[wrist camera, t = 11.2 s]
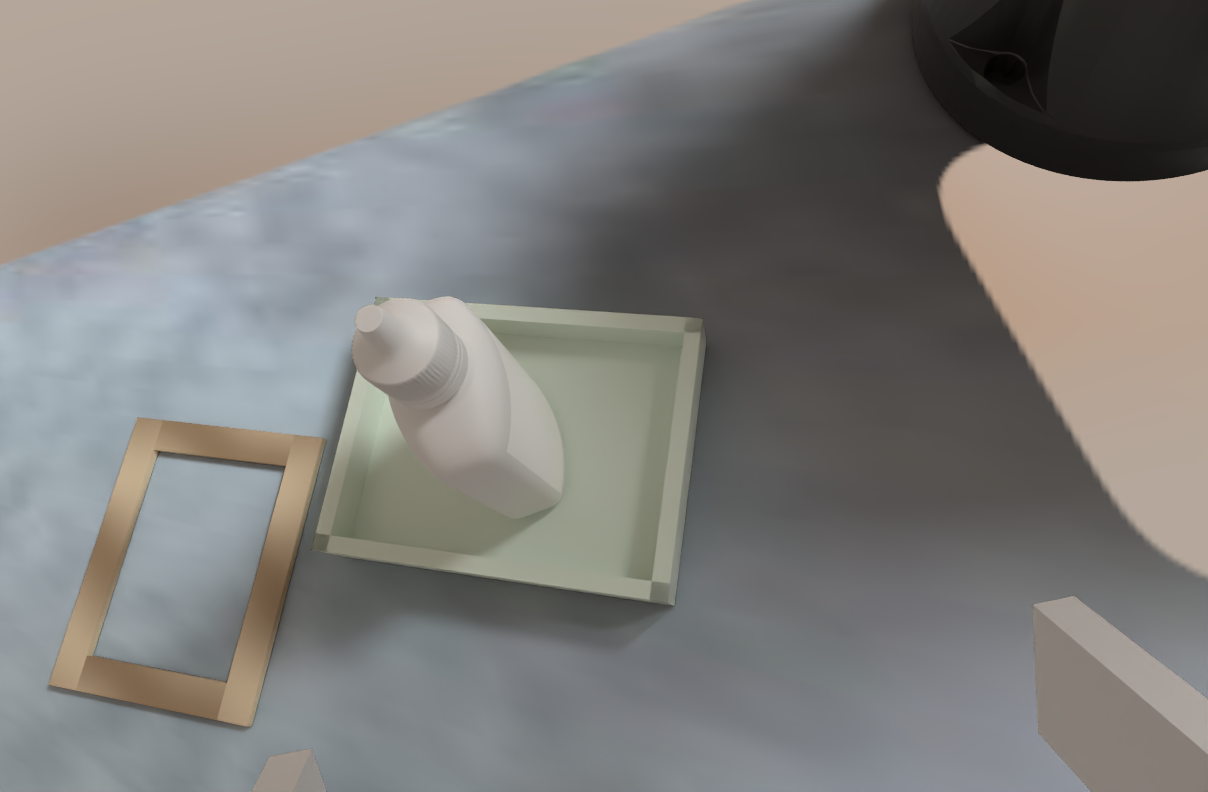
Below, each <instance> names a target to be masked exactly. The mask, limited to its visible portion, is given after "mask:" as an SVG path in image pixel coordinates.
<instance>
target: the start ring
mask: <svg viewBox="0 0 1208 792" xmlns="http://www.w3.org/2000/svg"><path fill="white" fill-rule="evenodd" d="M325 443H326V440H325V439H323V438H317V437H308V436H299V435H290V434H281V433H272V432H263V431H254V430H246V429H237V428H228V427H219V426H210V425H201V424H192V423H183V422H174V421H165V420H156V419H147V418H137V421H136V424H135V427H134V430H133V433H132V436H131V439H130V442H129V445H128V448H127V451H126V454H125V457H124V460H123V463H122V466H121V469H120V472H119V475H118V478H117V481H116V484H115V487H114V490H113V493H112V496H111V499H110V502H109V505H108V508H107V511H106V514H105V517H104V520H103V523H102V526H101V529H100V532H99V535H98V538H97V541H96V544H95V547H94V550H93V553H92V556H91V559H90V562H89V565H88V568H87V571H86V574H85V577H84V580H83V583H82V586H81V589H80V592H79V595H78V598H77V601H76V604H75V607H74V610H73V613H72V616H71V619H70V622H69V625H68V628H67V631H66V634H65V637H64V640H63V643H62V646H61V649H60V652H59V655H58V658H57V661H56V664H55V667H54V670H53V673H52V676H51V679H50V682H49V685H52V686H57V687H61V688H66V689H71V690H76V691H80V692H85V693H90V694H95V695H99V696H104V697H109V698H114V699H118V700H123V701H128V702H133V703H137V704H142V705H147V706H152V707H156V708H161V709H166V710H171V711H175V712H180V713H185V714H190V715H194V716H199V717H204V718H209V719H213V720H218V721H223V722H228V723H232V724H237V725H242V726H247V727H248V726H252V725H253V721H254V717H255V713H256V709H257V705H258V701H259V698H260V694H261V690H262V686H263V682H264V678H265V674H266V671H267V667H268V663H269V659H270V655H271V651H272V648H273V644H274V640H275V636H276V632H277V628H278V624H279V621H280V617H281V613H282V609H283V605H284V601H285V597H286V594H287V590H288V586H289V582H290V578H291V574H292V570H293V567H294V563H295V559H296V555H297V551H298V547H299V544H300V540H301V536H302V532H303V528H304V524H305V520H306V517H307V513H308V509H309V505H310V501H311V497H312V493H313V490H314V486H315V482H316V478H317V474H318V470H319V466H320V463H321V459H322V455H323V451H324V447H325ZM159 451H161V452H169V453H177V454H185V455H193V456H202V457H210V458H218V459H226V460H234V461H242V462H251V463H259V464H267V465H275V466H283V467H286V468H285V471H284V475H283V479H282V482H281V486H280V490H279V493H278V497H277V501H276V504H275V508H274V512H273V515H272V519H271V523H270V526H269V530H268V534H267V537H266V541H265V545H264V548H263V552H262V556H261V560H260V563H259V567H258V571H257V574H256V578H255V582H254V585H253V589H252V593H251V596H250V600H249V604H248V607H247V611H246V615H245V618H244V622H243V626H242V629H241V633H240V637H239V640H238V644H237V648H236V651H235V655H234V659H233V662H232V666H231V670H230V673H229V677H228V681H227V682H224V681H219V680H214V679H209V678H204V677H199V676H194V675H189V674H184V673H179V672H174V671H168V670H163V669H158V668H153V667H148V666H143V665H138V664H133V663H128V662H123V661H118V660H113V659H107V658H102V657H97V656H93V654H94V651H95V648H96V645H97V642H98V638H99V635H100V632H101V629H102V626H103V623H104V620H105V617H106V614H107V610H108V607H109V604H110V601H111V598H112V595H113V592H114V589H115V586H116V582H117V579H118V576H119V573H120V570H121V567H122V564H123V561H124V558H125V554H126V551H127V548H128V545H129V542H130V539H131V536H132V533H133V530H134V526H135V523H136V520H137V517H138V514H139V511H140V508H141V505H142V502H143V498H144V495H145V492H146V489H147V486H148V483H149V480H150V477H151V474H152V470H153V467H154V464H155V461H156V458H157V455H158V452H159Z"/></svg>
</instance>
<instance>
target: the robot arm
mask: <svg viewBox="0 0 1208 792" xmlns="http://www.w3.org/2000/svg"><path fill="white" fill-rule="evenodd" d="M912 37H913V44H914V49H915V54H916V57H917V61H918V64H919V66H920V69H921V71H922V74H923V76H924V78H925V80H926V82H927V84H928V85H929V87H930V89H931V90H932V92H933V93H934V95H935V96H936V98H937V99H938V100H939V102H940V103H941V104H942V106H943V107H944V108H945V109H946V110H947V111H948V112H949V113H950V114H951V116H953V117H954V118H955V119H956V120H957V121H958V122H959V123H960V124H961V125H962V126H963V127H965V128H966V129H967V130H968V131H970V132H971V133H972V134H973V135H975V136H976V137H978V138H979V139H981V140H982V141H983V142H985V143H987V144H988V145H990V146H992V147H994V148H995V149H997V150H999V151H1001V152H1003V153H1005V154H1007V155H1009V156H1011V157H1013V158H1015V159H1018V160H1020V161H1022V162H1025V163H1028V164H1030V165H1033V166H1036V167H1039V168H1042V169H1045V170H1049V171H1052V172H1056V173H1060V174H1064V175H1069V176H1074V177H1080V178H1087V179H1096V180H1106V181H1147V180H1158V179H1166V178H1174V177H1179V176H1184V175H1190V174H1194V173H1197V172H1201V171H1205V170H1208V0H915V1H914V7H913V14H912ZM1032 605H1033V627H1034V649H1035V671H1036V693H1037V716H1038V733H1039V734H1040V735H1041V736H1042V738H1043V739H1044V740H1045V741H1046V742H1047V743H1048V744H1049V745H1050V746H1051V748H1052V749H1053V750H1054V751H1055V752H1056V753H1057V754H1058V755H1059V756H1060V758H1061V759H1062V760H1063V761H1064V762H1065V763H1066V764H1067V765H1068V766H1069V768H1070V769H1071V770H1072V771H1073V772H1074V773H1075V774H1076V775H1077V776H1078V778H1079V779H1080V780H1081V781H1082V782H1083V783H1084V784H1085V785H1086V786H1087V788H1088V789H1089V790H1090V791H1091V792H1208V699H1207V698H1206V697H1205V696H1203V695H1202V694H1201V693H1199V692H1198V691H1197V690H1195V689H1194V688H1193V687H1192V686H1190V685H1189V684H1188V683H1186V682H1185V681H1184V680H1182V679H1181V678H1180V677H1179V676H1177V675H1176V674H1175V673H1173V672H1172V671H1171V670H1169V669H1168V668H1167V667H1166V666H1164V665H1163V664H1162V663H1160V662H1159V661H1158V660H1156V659H1155V658H1154V657H1153V656H1151V655H1150V654H1149V653H1147V652H1146V651H1145V650H1143V649H1142V648H1141V647H1140V646H1138V645H1137V644H1136V643H1134V642H1133V641H1132V640H1130V639H1129V638H1128V637H1127V636H1125V635H1124V634H1123V633H1121V632H1120V631H1119V630H1117V629H1116V628H1115V627H1114V626H1112V625H1111V624H1110V623H1108V622H1107V621H1106V620H1104V619H1103V618H1102V617H1101V616H1099V615H1098V614H1097V613H1095V612H1094V611H1093V610H1091V609H1090V608H1089V607H1088V606H1086V605H1085V604H1084V603H1082V602H1081V601H1080V600H1078V599H1077V598H1076V597H1075V596H1072V597H1067V598H1062V599H1057V600H1052V601H1047V602H1042V603H1037V604H1032ZM252 792H327V791H326V788H325V785H324V782H323V779H322V776H321V773H320V770H319V767H318V764H317V762H316V759H315V756H314V753H313V750H312V748H311V749H306V750H301V751H296V752H291V753H286V754H281V755H276V756H271V757H269V759H268V761H267V763H266V765H265V767H264V768H263V770H262V772H261V774H260V776H259V778H258V780H257V782H256V784H255V786H254V788H253V790H252Z"/></svg>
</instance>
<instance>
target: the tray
mask: <svg viewBox="0 0 1208 792" xmlns="http://www.w3.org/2000/svg"><path fill="white" fill-rule="evenodd" d="M393 299H398V298H384V297H375V301H374V305H375V306H379V305H380V304H382V303H384V302H387V301H389V300H393ZM414 300H415V299H414ZM418 301H421V302H422V303H424V302H426V301H429V300H418ZM465 304H466V305H467V306H468V307H469V308H470V309H471V310H472V311H473V312H474V313H475V314H476V315H477V316H478V317H479V318H480V319H481V320H482V321H483V323H484V324H485V325H486V326H487V327H488V328H489V329H490V331H491V332H492V333H493V334H494V335H495V336H496V338H497V339H498V340H499V341H500V342H501V343H502V345H503V346H504V347H505V348H506V349H507V350H508V351H509V353H510V354H511V355H512V356H513V357H514V358H515V360H516V361H517V362H518V363H519V364H520V366H521V367H522V368H523V369H524V370H525V371H526V373H527V374H528V375H529V376H530V377H531V378H532V380H533V381H534V382H535V383H536V384H537V386H538V387H539V388H540V390H541V391H542V393H543V394H544V396H545V397H546V399H547V401H548V402H549V404H550V406H551V408H552V410H553V412H554V414H555V416H556V419H557V421H558V424H559V427H560V430H561V434H562V438H563V443H564V449H565V459H566V478H565V487H564V493H563V496H562V498H561V500H560V501H559V502H558V503H557V504H555V505H554V506H552V507H550V508H547V509H545V510H542V511H539V512H537V513H534V514H531V515H528V516H525V517H522V518H518V519H511V518H509V517H507V516H505V515H503V514H501V513H499V512H497V511H495V510H493V509H492V508H490V507H488V506H486V505H484V504H482V503H480V502H478V501H476V500H475V499H473V498H471V497H469V496H467V495H465V494H463V493H462V492H460V491H458V490H456V489H454V488H452V487H450V486H449V485H447V484H445V483H444V482H442V481H440V480H439V479H437V478H436V477H434V476H433V475H432V474H431V473H430V472H429V471H428V470H427V469H426V468H425V467H424V466H423V464H422V463H421V462H420V461H419V459H418V458H417V457H416V455H415V454H414V453H413V451H412V450H411V448H410V447H409V445H408V444H407V442H406V440H405V438H404V437H403V435H402V433H401V431H400V429H399V427H398V425H397V422H396V420H395V417H394V414H393V412H392V409H391V405H390V401H389V397H388V395H387V394H385V393H384V392H382V391H381V390H379V389H378V388H377V387H375V386H374V385H372V384H371V383H369V382H368V381H367V380H365V379H364V378H363V377H362V376H361V375H360V373H359V372H358V369H357V372H356V376H355V380H354V384H353V388H352V392H351V396H350V399H349V403H348V407H347V411H346V415H345V419H344V423H343V427H342V431H341V435H340V439H339V443H338V447H337V451H336V454H335V458H334V462H333V466H332V470H331V474H330V478H329V482H328V486H327V490H326V494H325V498H324V502H323V505H322V509H321V513H320V517H319V521H318V525H317V529H316V533H315V537H314V541H313V545H312V549H311V550H315V551H320V552H324V553H329V554H333V555H338V556H342V557H349V558H355V559H362V560H369V561H376V562H382V563H389V564H396V565H402V566H409V567H416V568H422V569H429V570H436V571H443V572H449V573H456V574H463V575H469V576H476V577H483V578H489V579H496V580H503V581H510V582H516V583H523V584H530V585H536V586H543V587H550V588H557V589H563V590H570V591H577V592H583V593H590V594H597V595H603V596H610V597H617V598H624V599H630V600H637V601H644V602H650V603H657V604H664V605H670V606H675V599H676V591H677V583H678V574H679V566H680V558H681V550H682V541H683V533H684V525H685V516H686V508H687V500H688V492H689V483H690V475H691V467H692V458H693V450H694V442H695V434H696V425H697V417H698V409H699V400H700V392H701V384H702V376H703V367H704V359H705V351H706V336H705V330H704V324H703V318H692V317H677V316H661V315H646V314H630V313H615V312H600V311H584V310H569V309H553V308H538V307H523V306H507V305H492V304H476V303H465Z"/></svg>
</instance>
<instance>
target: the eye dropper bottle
mask: <svg viewBox="0 0 1208 792" xmlns="http://www.w3.org/2000/svg"><path fill="white" fill-rule="evenodd" d="M355 325H356V327H357V330H356V332H355V335H354V339H353V341H352V342H353V344H352V356H353V360H354V365H356V369H358V372H359V373H360V375H361V376H362V377H363V378H364V379H365V380H367V381H368V382H369V383H371V384H372V385H374V386H375V387H377V388H378V389H379V390H381V391H382V392H384V393H385V394H387V395H388V397H389V401H390V405H391V409H392V412H393V414H394V417H395V420H396V422H397V425H398V427H399V429H400V431H401V433H402V435H403V437H404V438H405V440H406V442H407V444H408V445H409V447H410V448H411V450H412V451H413V453H414V454H415V455H416V457H417V458H418V459H419V461H420V462H421V463H422V464H423V466H424V467H425V468H426V469H427V470H428V471H429V472H430V473H431V474H432V475H433V476H434V477H436V478H437V479H439V480H440V481H442V482H444V483H445V484H447V485H449V486H450V487H452V488H454V489H456V490H458V491H460V492H462V493H463V494H465V495H467V496H469V497H471V498H473V499H475V500H476V501H478V502H480V503H482V504H484V505H486V506H488V507H490V508H492V509H493V510H495V511H497V512H499V513H501V514H503V515H505V516H507V517H509V518H511V519H518V518H522V517H525V516H528V515H531V514H534V513H537V512H539V511H542V510H545V509H547V508H550V507H552V506H554V505H555V504H557V503H558V502H559V501H560V500H561V498H562V496H563V493H564V487H565V478H566V459H565V449H564V443H563V438H562V434H561V430H560V427H559V424H558V421H557V419H556V416H555V414H554V412H553V410H552V408H551V406H550V404H549V402H548V401H547V399H546V397H545V396H544V394H543V393H542V391H541V390H540V388H539V387H538V386H537V384H536V383H535V382H534V381H533V380H532V378H531V377H530V376H529V375H528V374H527V373H526V371H525V370H524V369H523V368H522V367H521V366H520V364H519V363H518V362H517V361H516V360H515V358H514V357H513V356H512V355H511V354H510V353H509V351H508V350H507V349H506V348H505V347H504V346H503V345H502V343H501V342H500V341H499V340H498V339H497V338H496V336H495V335H494V334H493V333H492V332H491V331H490V329H489V328H488V327H487V326H486V325H485V324H484V323H483V321H482V320H481V319H480V318H479V317H478V316H477V315H476V314H475V313H474V312H473V311H472V310H471V309H470V308H469V307H468V306H467V305H466V304H465V303H463V302H462V301H461V300H459V299H456V298H454V297H451V296H448V297H439V298H435V299H432V300H429V301H426V302H424V303H422V302H421V301H418V300H414V299H409V298H406V299H405V298H401V299H400V298H398V299H393V300H389V301H387V302H384V303H382V304H380V305H379V306H375V305H367V306H364V307H363V308H361V309H360V310H359V311H358V313H357V314H356V317H355Z"/></svg>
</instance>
